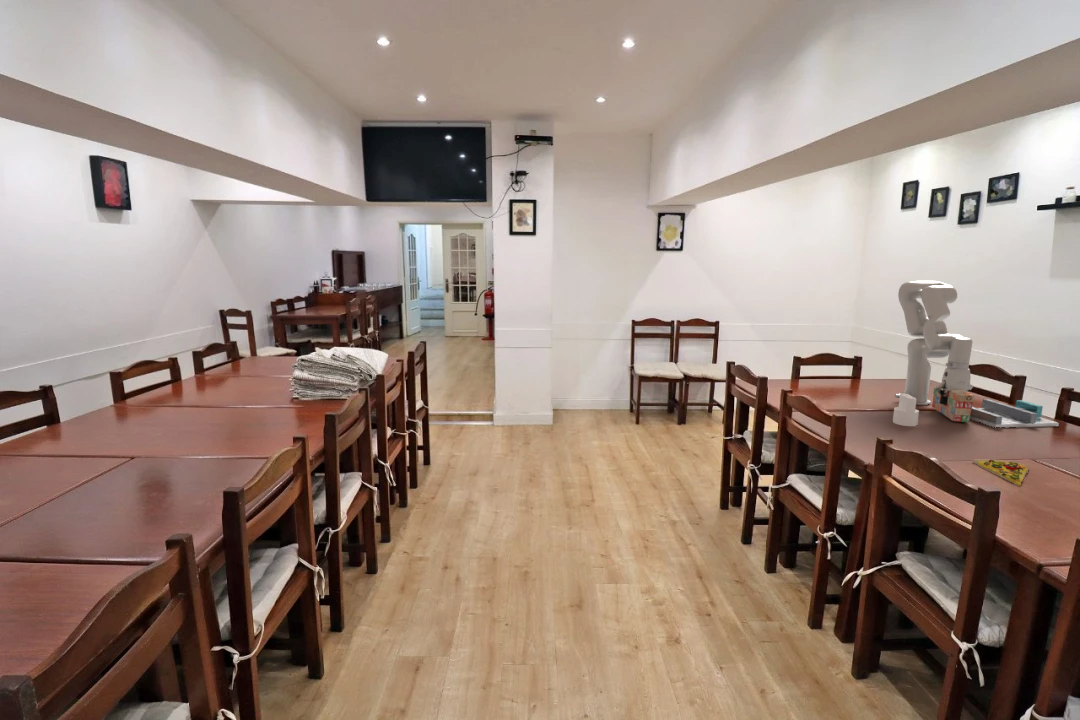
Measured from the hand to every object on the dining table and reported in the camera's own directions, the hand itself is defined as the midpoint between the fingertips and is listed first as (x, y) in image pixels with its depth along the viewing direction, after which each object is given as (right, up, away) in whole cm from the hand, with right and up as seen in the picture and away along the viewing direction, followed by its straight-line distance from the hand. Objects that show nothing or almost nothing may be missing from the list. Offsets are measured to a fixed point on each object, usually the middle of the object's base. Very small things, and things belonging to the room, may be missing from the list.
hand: (951, 403), depth 245 cm
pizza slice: (-28, -19, -63) cm, 72 cm away
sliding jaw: (+27, -5, -2) cm, 28 cm away
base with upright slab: (-26, -8, -7) cm, 28 cm away
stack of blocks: (0, -5, +2) cm, 5 cm away
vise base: (+20, -6, -2) cm, 21 cm away
